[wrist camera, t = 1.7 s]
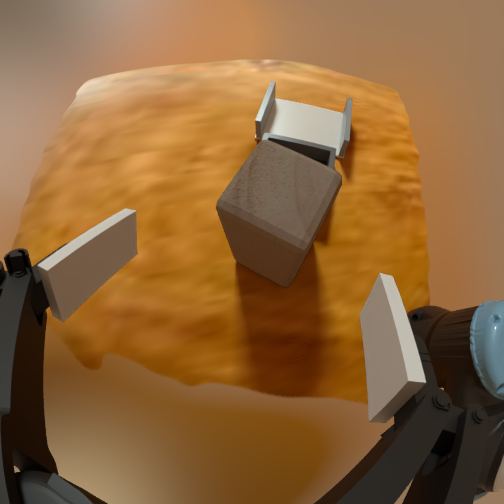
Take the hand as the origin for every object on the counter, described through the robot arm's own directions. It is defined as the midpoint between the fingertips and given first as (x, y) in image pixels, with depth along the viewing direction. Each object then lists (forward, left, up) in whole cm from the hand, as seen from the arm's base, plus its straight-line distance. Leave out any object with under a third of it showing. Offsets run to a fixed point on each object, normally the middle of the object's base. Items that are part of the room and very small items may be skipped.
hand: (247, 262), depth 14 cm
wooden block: (+10, 0, -30) cm, 32 cm away
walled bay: (+38, 0, -30) cm, 48 cm away
